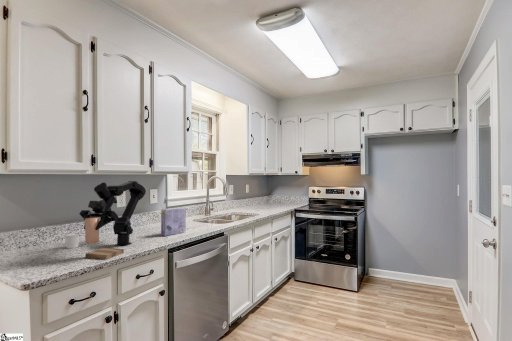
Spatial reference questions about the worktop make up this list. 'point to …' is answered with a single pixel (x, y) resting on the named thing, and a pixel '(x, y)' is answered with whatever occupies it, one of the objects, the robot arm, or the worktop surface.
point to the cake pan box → (173, 221)
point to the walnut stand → (104, 253)
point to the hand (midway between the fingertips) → (90, 229)
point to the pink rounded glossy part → (91, 230)
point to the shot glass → (72, 240)
